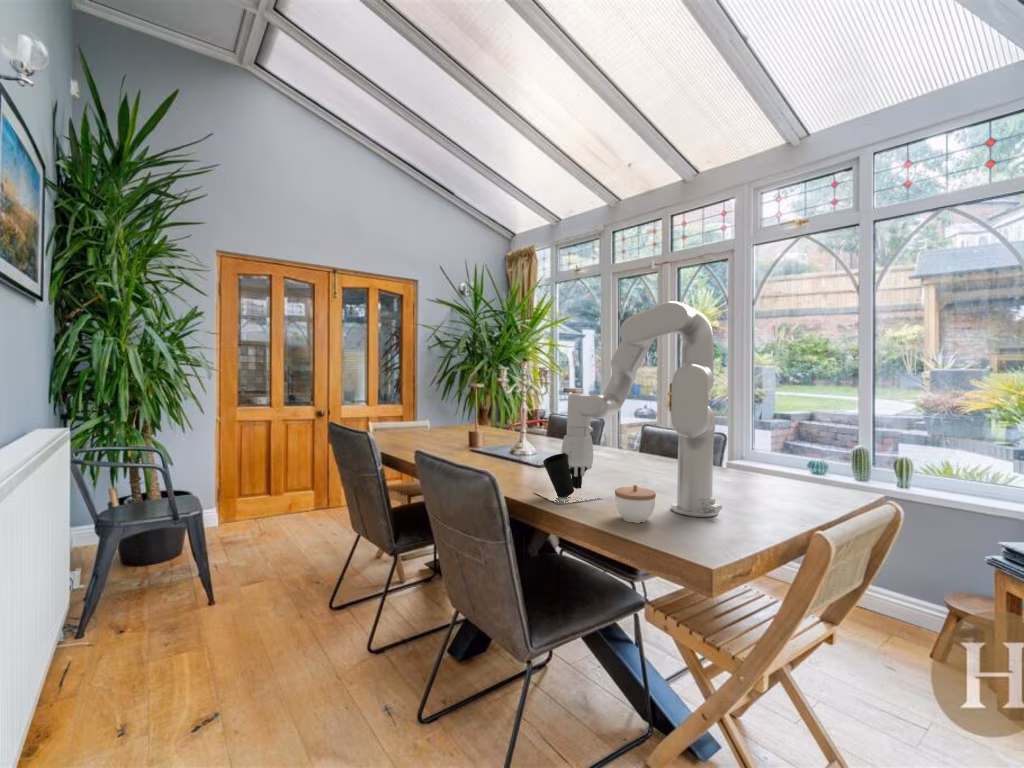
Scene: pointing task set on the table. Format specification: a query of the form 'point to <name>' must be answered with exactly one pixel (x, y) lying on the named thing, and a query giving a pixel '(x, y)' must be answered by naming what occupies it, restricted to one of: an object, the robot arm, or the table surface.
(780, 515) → the table surface
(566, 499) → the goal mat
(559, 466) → the cup
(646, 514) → the lidded jar
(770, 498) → the table surface
